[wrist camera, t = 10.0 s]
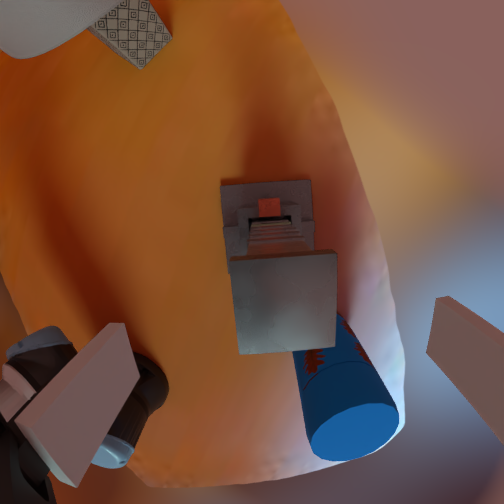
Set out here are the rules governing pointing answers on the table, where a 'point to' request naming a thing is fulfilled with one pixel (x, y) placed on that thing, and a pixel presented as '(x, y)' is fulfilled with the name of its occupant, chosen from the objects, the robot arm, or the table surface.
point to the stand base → (249, 206)
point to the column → (283, 291)
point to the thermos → (343, 399)
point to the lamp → (82, 26)
